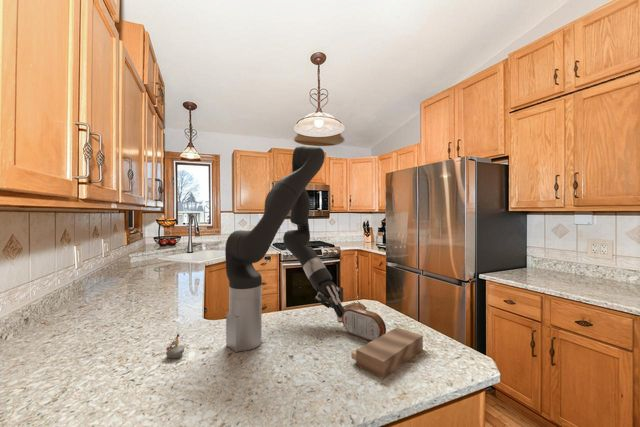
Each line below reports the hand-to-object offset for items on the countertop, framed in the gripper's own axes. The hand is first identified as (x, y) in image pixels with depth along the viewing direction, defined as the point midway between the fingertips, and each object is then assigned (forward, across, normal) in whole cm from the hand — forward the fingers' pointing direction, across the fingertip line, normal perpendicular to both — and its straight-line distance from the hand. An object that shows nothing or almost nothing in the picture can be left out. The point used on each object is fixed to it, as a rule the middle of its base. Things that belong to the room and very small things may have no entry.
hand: (343, 315), depth 92 cm
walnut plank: (+18, -5, -12) cm, 22 cm away
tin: (+9, 0, -2) cm, 9 cm away
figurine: (-11, -45, +18) cm, 50 cm away
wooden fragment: (-3, +16, +10) cm, 19 cm away
